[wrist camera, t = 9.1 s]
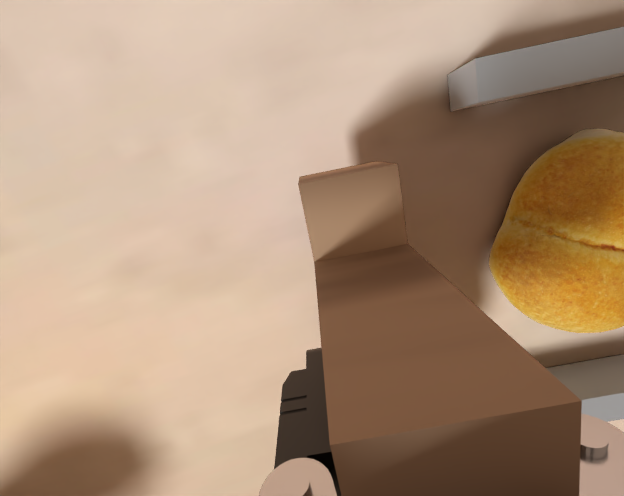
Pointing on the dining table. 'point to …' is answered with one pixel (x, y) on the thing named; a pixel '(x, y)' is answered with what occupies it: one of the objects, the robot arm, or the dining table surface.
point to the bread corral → (532, 80)
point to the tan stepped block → (423, 363)
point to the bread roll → (567, 236)
